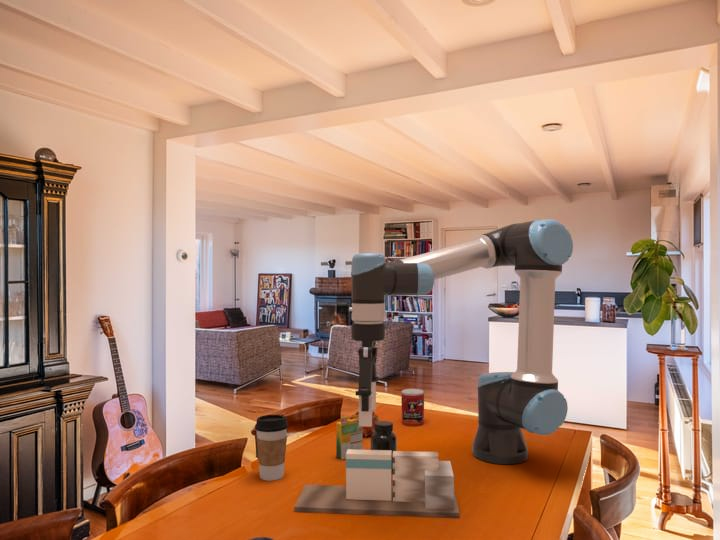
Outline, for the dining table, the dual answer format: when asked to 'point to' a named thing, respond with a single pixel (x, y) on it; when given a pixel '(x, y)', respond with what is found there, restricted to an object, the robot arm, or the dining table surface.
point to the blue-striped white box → (369, 474)
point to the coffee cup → (271, 446)
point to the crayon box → (348, 436)
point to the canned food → (412, 407)
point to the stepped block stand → (394, 491)
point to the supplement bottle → (384, 437)
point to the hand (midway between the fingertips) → (367, 417)
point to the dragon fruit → (367, 429)
